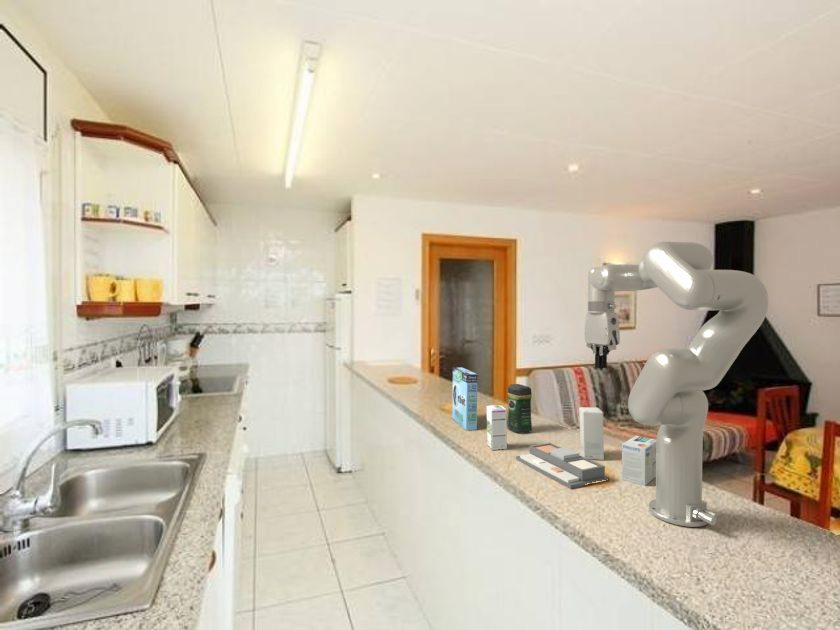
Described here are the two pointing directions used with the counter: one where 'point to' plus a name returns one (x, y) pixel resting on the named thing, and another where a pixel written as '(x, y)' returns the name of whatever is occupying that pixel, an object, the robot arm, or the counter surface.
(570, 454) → the grey key
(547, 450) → the terracotta key
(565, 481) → the keypad
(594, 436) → the skincare box
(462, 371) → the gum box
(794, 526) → the counter surface
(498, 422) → the syrup box
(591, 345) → the robot arm
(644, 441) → the light bulb box
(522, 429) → the coffee jar
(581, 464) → the cream key
